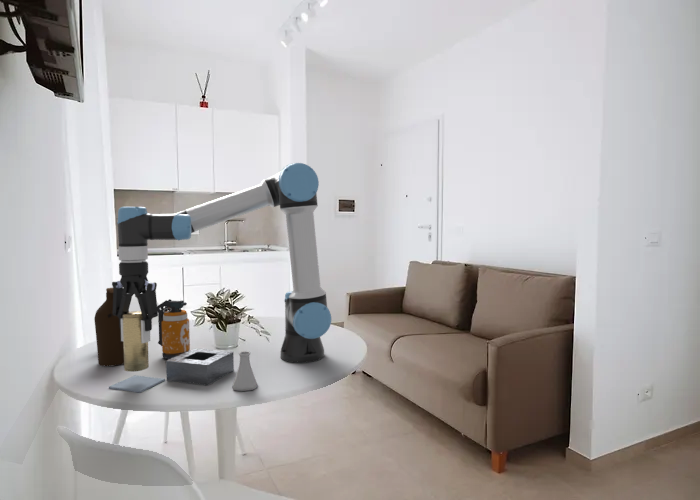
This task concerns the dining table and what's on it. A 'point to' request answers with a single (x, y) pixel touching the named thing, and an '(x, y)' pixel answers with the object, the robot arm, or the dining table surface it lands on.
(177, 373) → the box
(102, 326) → the olive oil
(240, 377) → the flask
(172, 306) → the canister
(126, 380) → the mat
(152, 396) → the dining table surface
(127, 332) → the gold metal cylinder
